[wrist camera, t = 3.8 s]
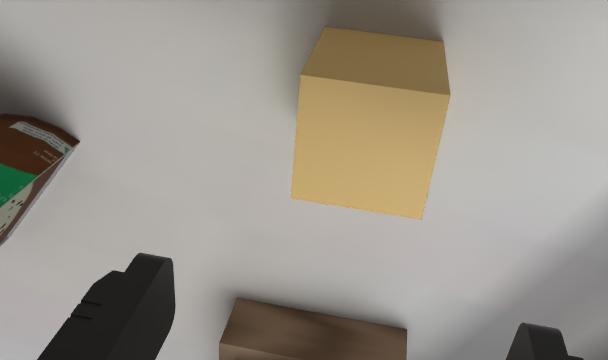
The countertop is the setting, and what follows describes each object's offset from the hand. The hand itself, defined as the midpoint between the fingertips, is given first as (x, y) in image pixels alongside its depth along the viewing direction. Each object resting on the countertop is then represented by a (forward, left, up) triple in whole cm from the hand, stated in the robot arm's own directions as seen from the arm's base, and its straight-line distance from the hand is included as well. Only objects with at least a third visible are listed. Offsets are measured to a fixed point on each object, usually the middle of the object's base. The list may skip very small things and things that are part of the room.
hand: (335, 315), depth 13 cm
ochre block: (0, 0, -14) cm, 14 cm away
